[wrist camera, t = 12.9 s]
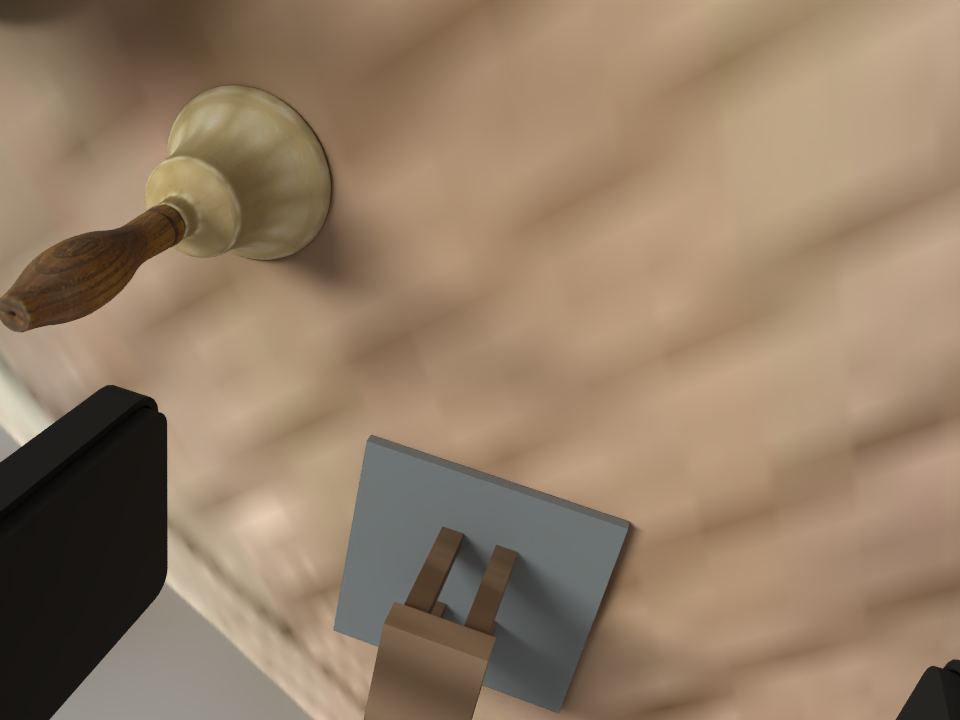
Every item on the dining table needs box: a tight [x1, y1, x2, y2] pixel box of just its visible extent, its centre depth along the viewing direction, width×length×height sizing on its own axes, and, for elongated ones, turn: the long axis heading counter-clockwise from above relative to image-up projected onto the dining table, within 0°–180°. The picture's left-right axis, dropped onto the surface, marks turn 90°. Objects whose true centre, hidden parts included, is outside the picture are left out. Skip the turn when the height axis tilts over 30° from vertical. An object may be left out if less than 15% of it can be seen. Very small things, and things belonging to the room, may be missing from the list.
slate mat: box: [334, 435, 629, 713], centre depth 50 cm, size 14×14×1 cm
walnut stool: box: [364, 526, 518, 720], centre depth 46 cm, size 7×5×8 cm
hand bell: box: [0, 85, 331, 332], centre depth 36 cm, size 8×8×16 cm
